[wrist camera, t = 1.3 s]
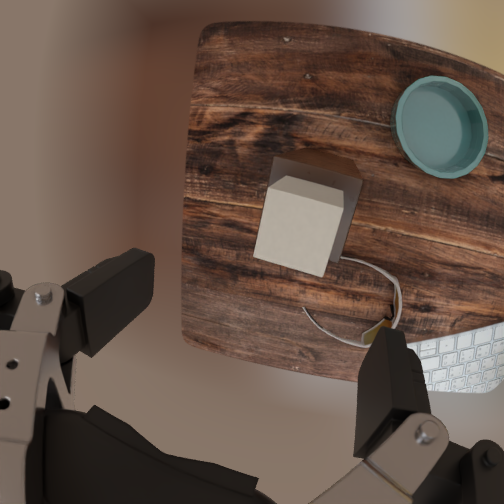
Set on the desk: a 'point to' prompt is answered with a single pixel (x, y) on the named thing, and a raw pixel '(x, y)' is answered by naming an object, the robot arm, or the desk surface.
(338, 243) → the block
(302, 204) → the block
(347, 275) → the desk surface
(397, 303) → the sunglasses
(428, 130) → the bowl
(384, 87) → the desk surface
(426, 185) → the desk surface
